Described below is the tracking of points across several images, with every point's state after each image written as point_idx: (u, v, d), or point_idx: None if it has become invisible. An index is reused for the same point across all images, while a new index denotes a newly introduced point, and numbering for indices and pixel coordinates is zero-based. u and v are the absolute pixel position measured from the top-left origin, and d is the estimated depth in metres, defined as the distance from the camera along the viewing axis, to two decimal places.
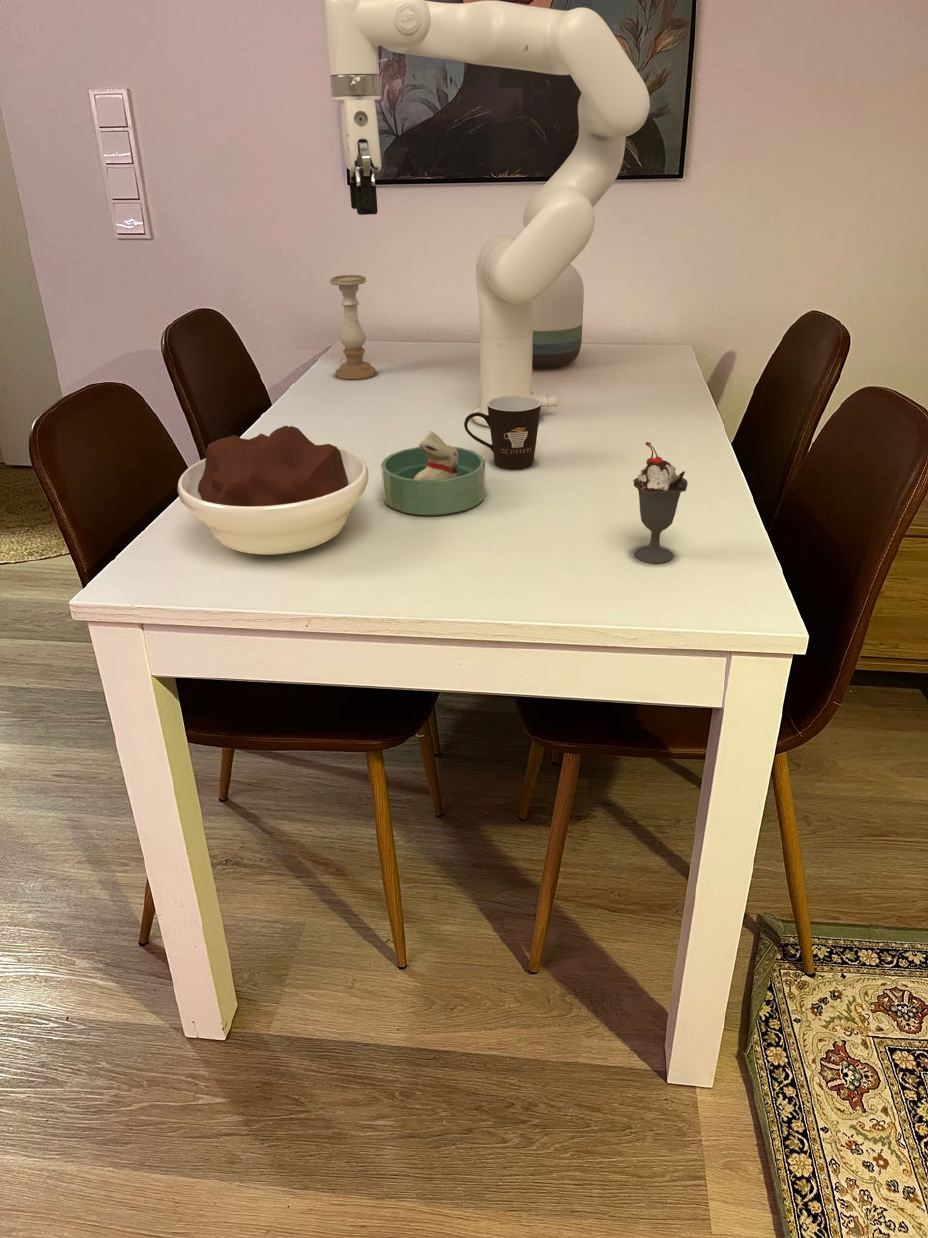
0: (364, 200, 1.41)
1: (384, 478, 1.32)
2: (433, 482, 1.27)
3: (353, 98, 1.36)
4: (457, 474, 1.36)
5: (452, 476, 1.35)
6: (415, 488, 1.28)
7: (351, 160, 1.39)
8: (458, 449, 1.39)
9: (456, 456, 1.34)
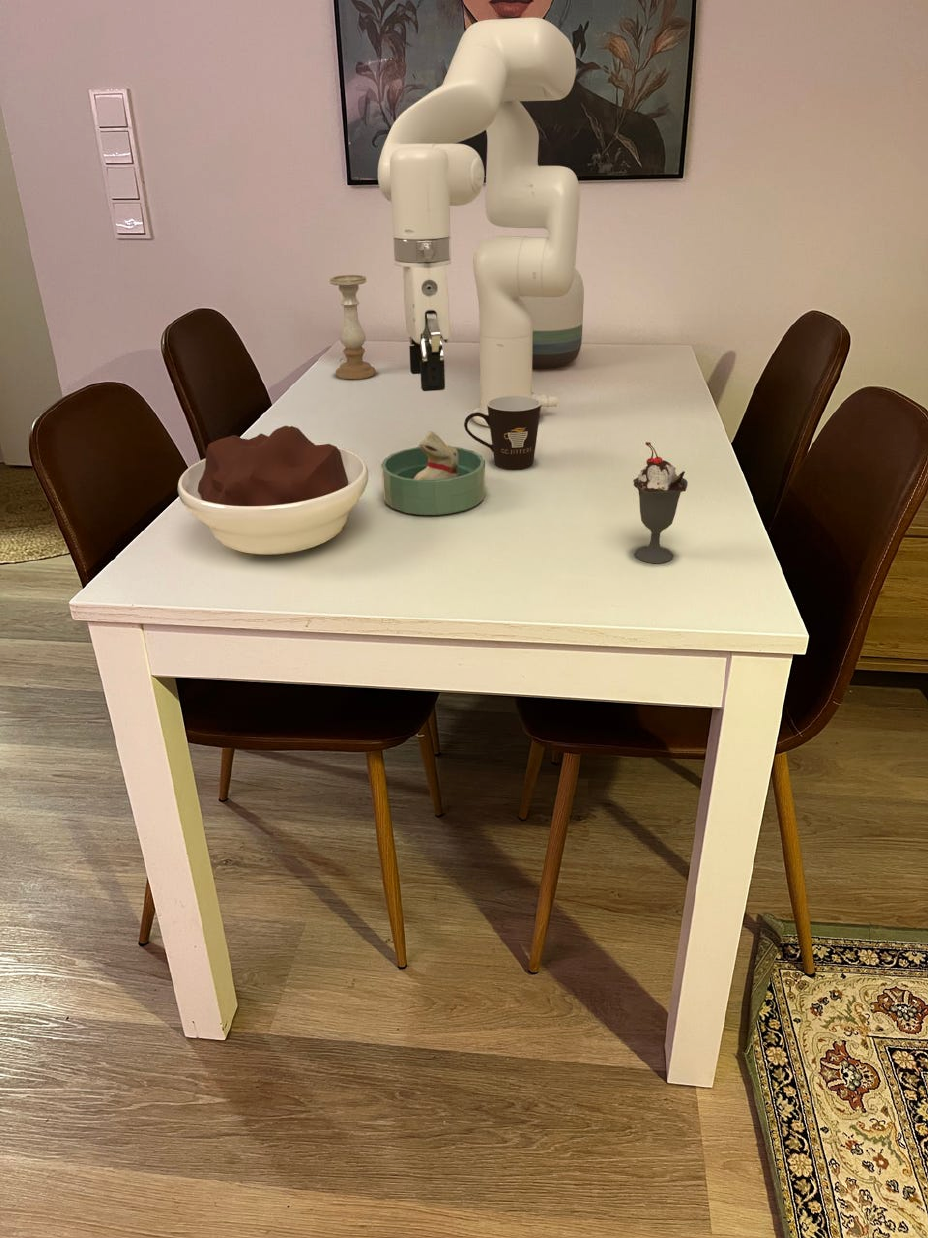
0: (430, 376, 1.22)
1: (384, 478, 1.32)
2: (433, 482, 1.27)
3: (421, 265, 1.17)
4: (457, 474, 1.36)
5: (452, 476, 1.35)
6: (415, 488, 1.28)
7: (417, 333, 1.20)
8: (458, 449, 1.39)
9: (456, 456, 1.34)
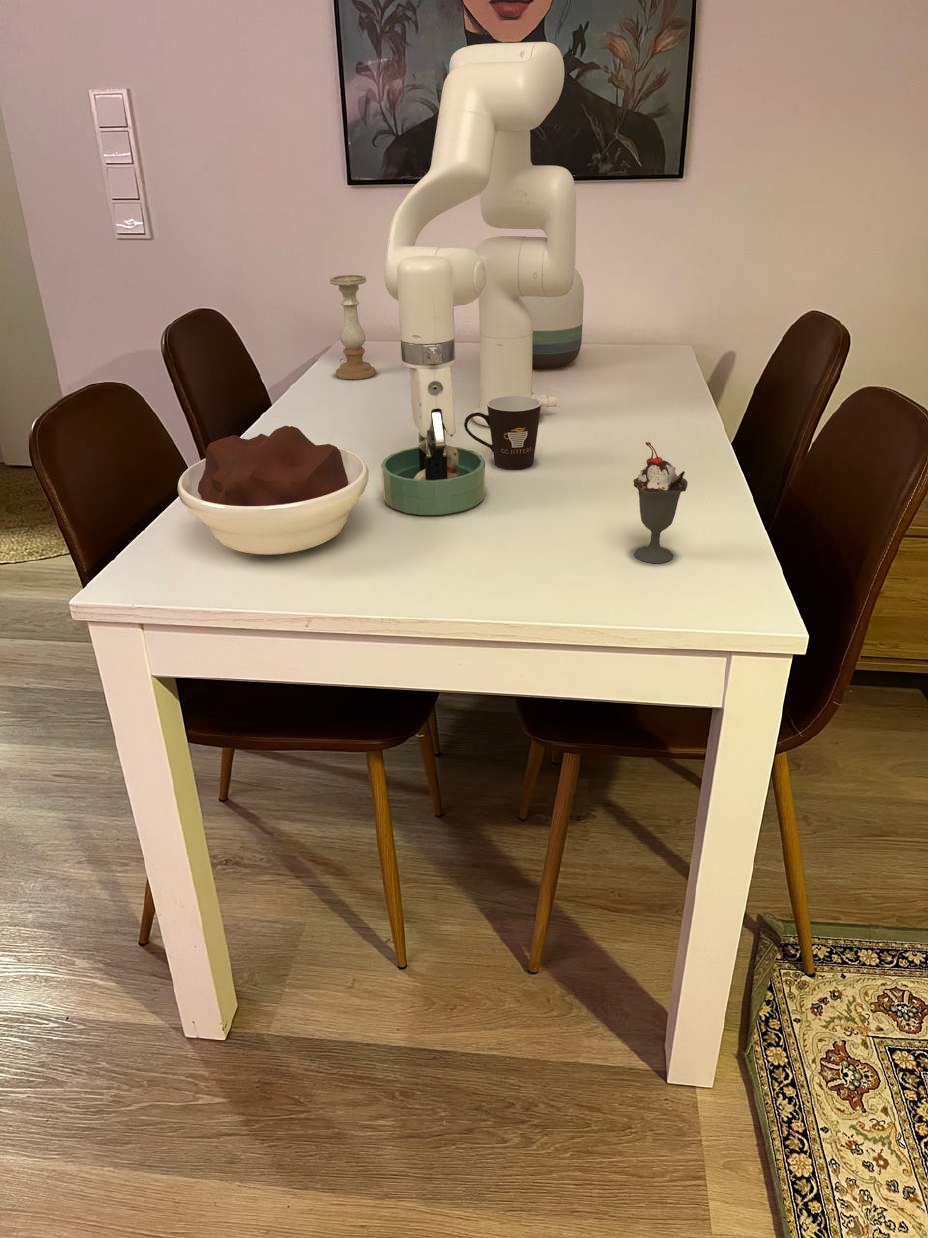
0: (434, 471, 1.31)
1: (384, 478, 1.32)
2: (433, 482, 1.27)
3: (427, 367, 1.23)
4: (457, 474, 1.36)
5: (452, 476, 1.35)
6: (415, 488, 1.28)
7: (423, 429, 1.26)
8: (458, 449, 1.39)
9: (456, 456, 1.34)
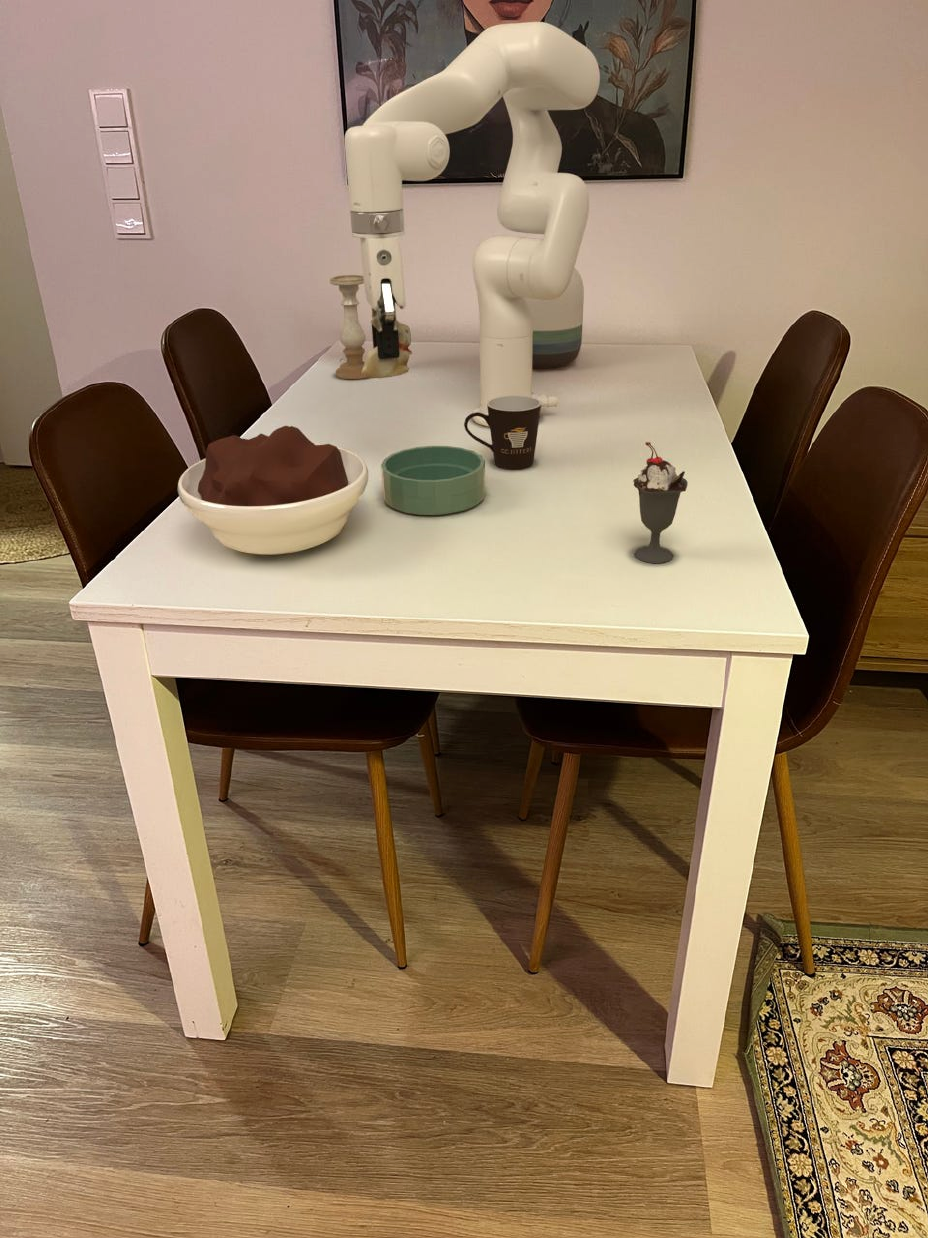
0: (386, 345, 1.34)
1: (384, 478, 1.32)
2: (433, 482, 1.27)
3: (376, 236, 1.26)
4: (409, 352, 1.39)
5: (404, 353, 1.38)
6: (415, 488, 1.28)
7: (373, 300, 1.29)
8: (458, 449, 1.39)
9: (408, 333, 1.37)
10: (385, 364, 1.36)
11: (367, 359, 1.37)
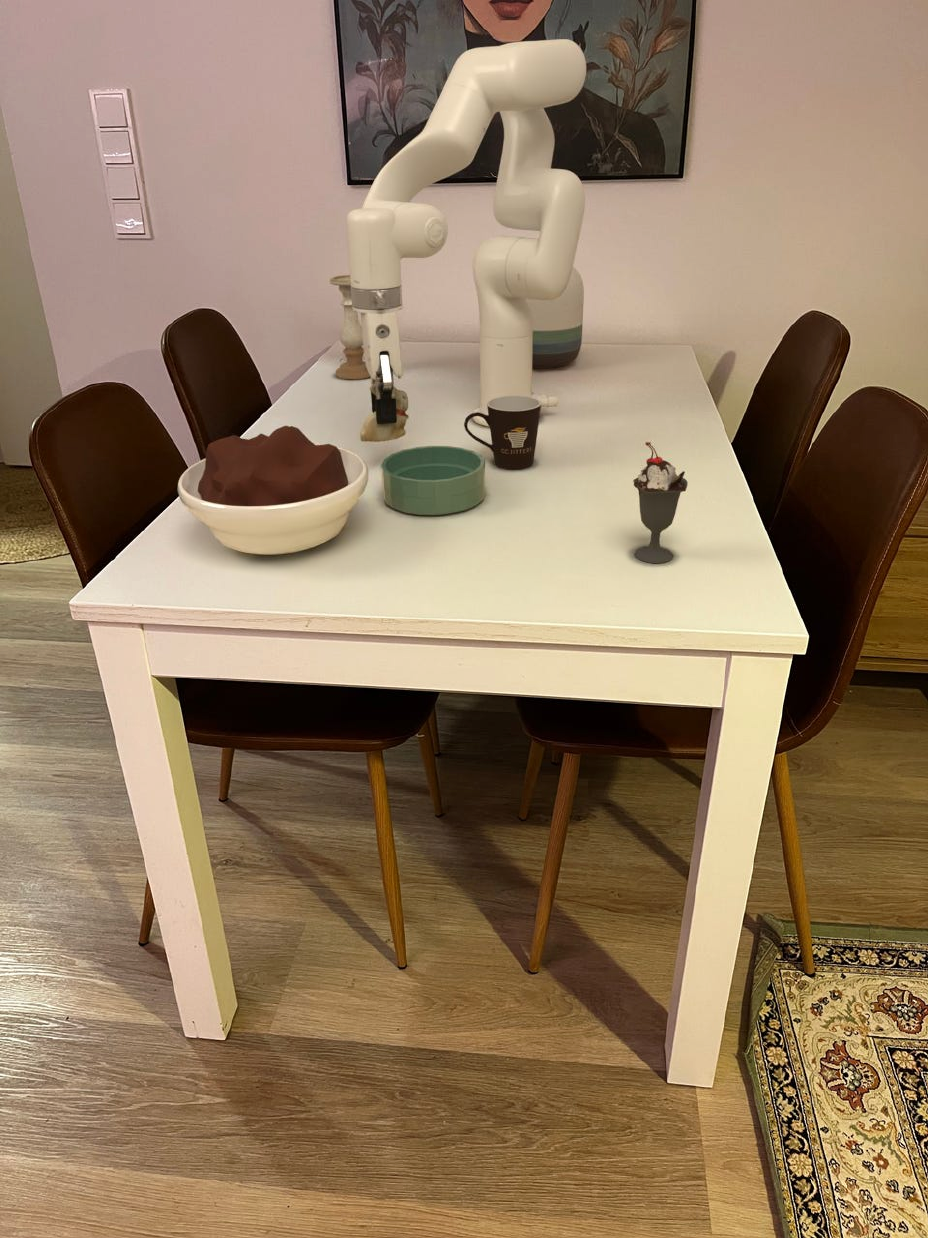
0: (384, 411, 1.40)
1: (384, 478, 1.32)
2: (433, 482, 1.27)
3: (375, 312, 1.33)
4: (406, 417, 1.45)
5: (401, 418, 1.44)
6: (415, 488, 1.28)
7: (372, 370, 1.36)
8: (458, 449, 1.39)
9: (405, 399, 1.44)
10: (383, 429, 1.43)
11: (365, 423, 1.43)
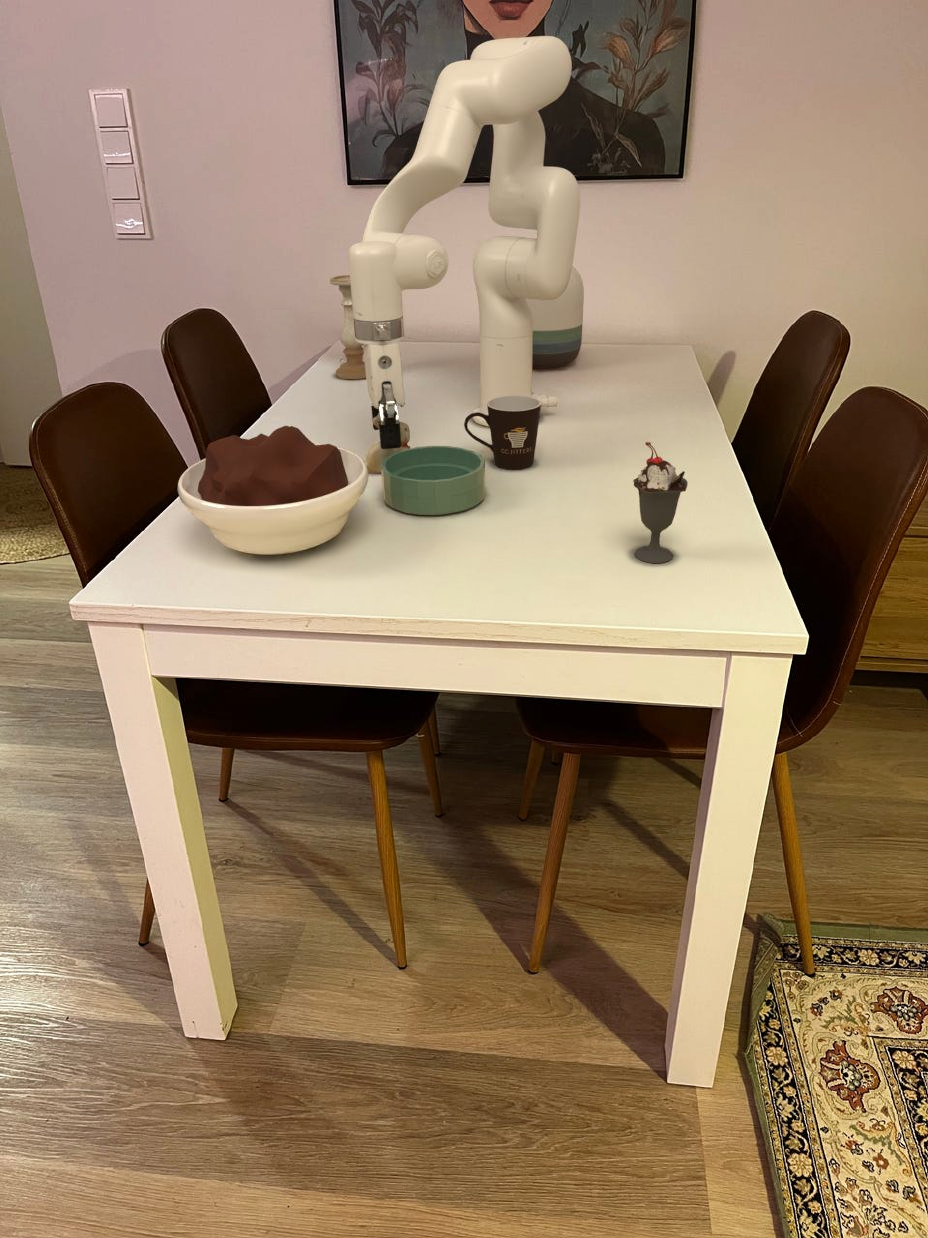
0: (388, 437, 1.40)
1: (384, 478, 1.32)
2: (433, 482, 1.27)
3: (377, 343, 1.35)
4: (408, 448, 1.48)
5: None
6: (415, 488, 1.28)
7: (375, 400, 1.38)
8: (458, 449, 1.39)
9: (407, 431, 1.46)
10: None
11: (368, 455, 1.46)
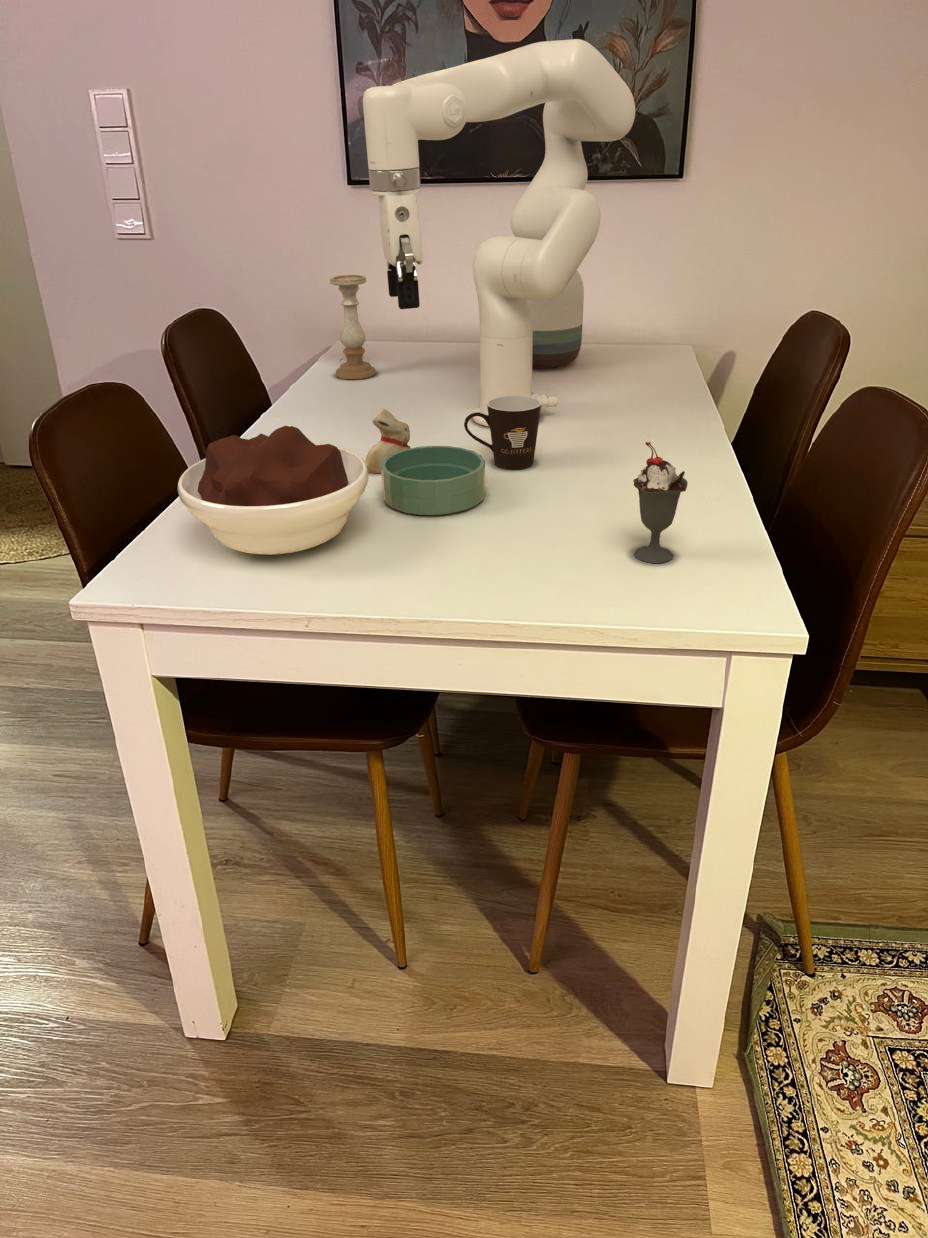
0: (406, 295, 1.37)
1: (384, 478, 1.32)
2: (433, 482, 1.27)
3: (394, 193, 1.32)
4: (408, 448, 1.48)
5: None
6: (415, 488, 1.28)
7: (392, 256, 1.35)
8: (458, 449, 1.39)
9: (407, 431, 1.46)
10: None
11: (368, 455, 1.46)
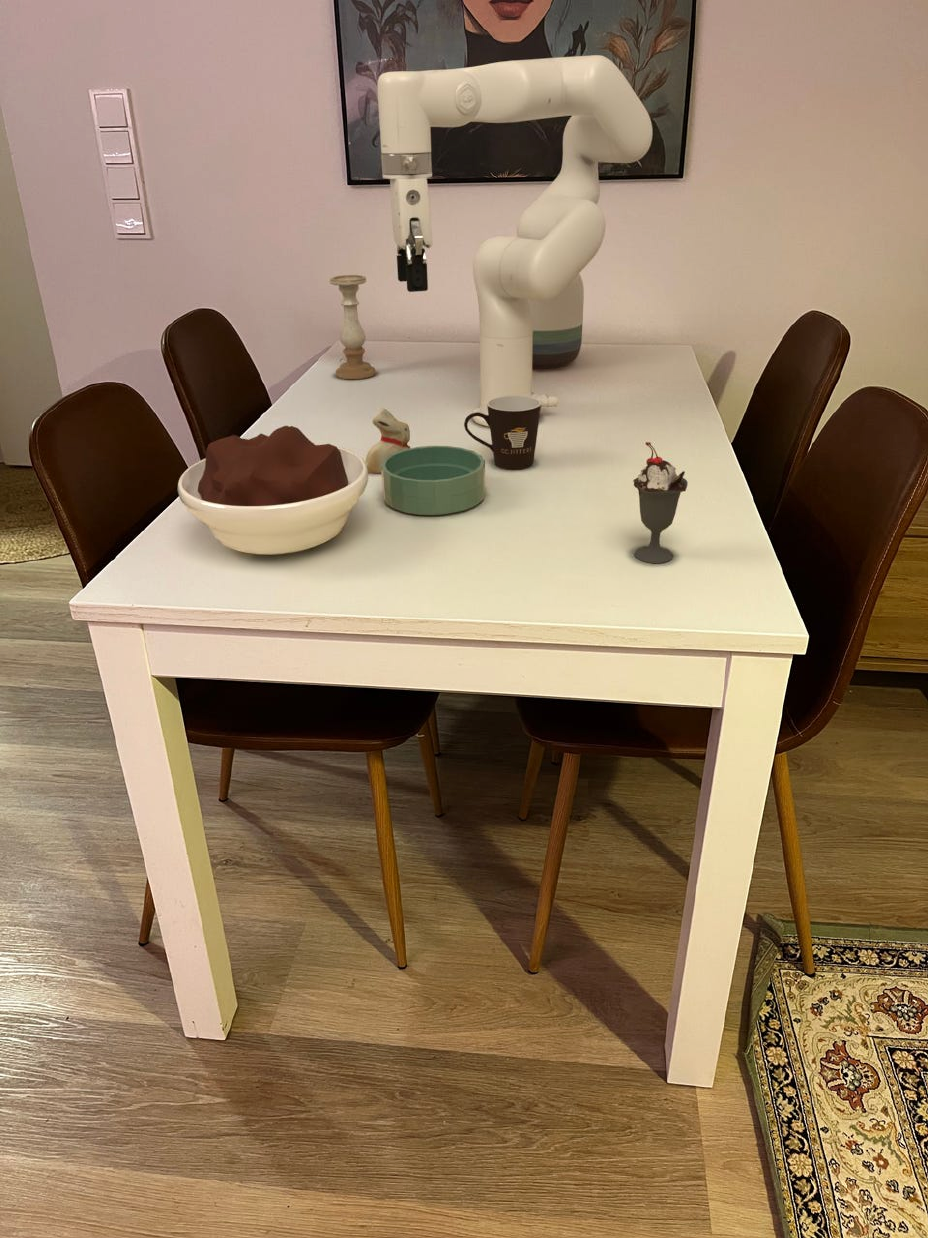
0: (415, 277, 1.39)
1: (384, 478, 1.32)
2: (433, 482, 1.27)
3: (405, 177, 1.34)
4: (408, 448, 1.48)
5: None
6: (415, 488, 1.28)
7: (402, 238, 1.37)
8: (458, 449, 1.39)
9: (407, 431, 1.46)
10: None
11: (368, 455, 1.46)
